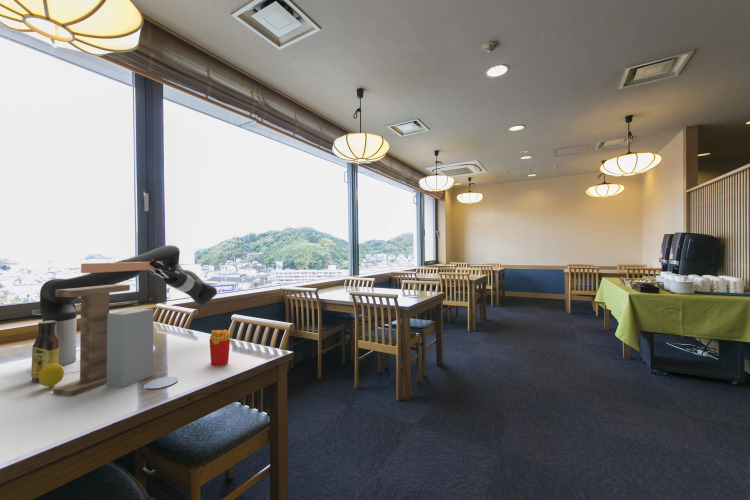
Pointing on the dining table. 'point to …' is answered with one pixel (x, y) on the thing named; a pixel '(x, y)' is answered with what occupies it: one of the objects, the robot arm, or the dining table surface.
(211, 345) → the french fries
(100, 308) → the walnut shelf
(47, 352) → the sauce bottle
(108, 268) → the terracotta bar
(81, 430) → the dining table surface
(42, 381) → the lemon
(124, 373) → the grey rectangular block
